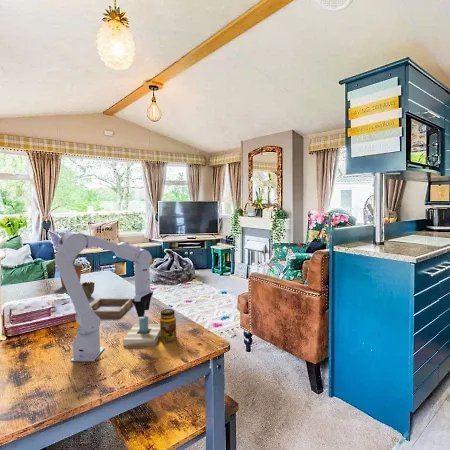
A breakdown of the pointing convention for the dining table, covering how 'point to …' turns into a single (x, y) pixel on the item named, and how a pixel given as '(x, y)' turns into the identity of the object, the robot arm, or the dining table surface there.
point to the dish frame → (112, 301)
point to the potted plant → (77, 267)
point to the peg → (143, 325)
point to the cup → (88, 288)
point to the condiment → (168, 326)
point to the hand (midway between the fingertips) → (143, 313)
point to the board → (142, 336)
